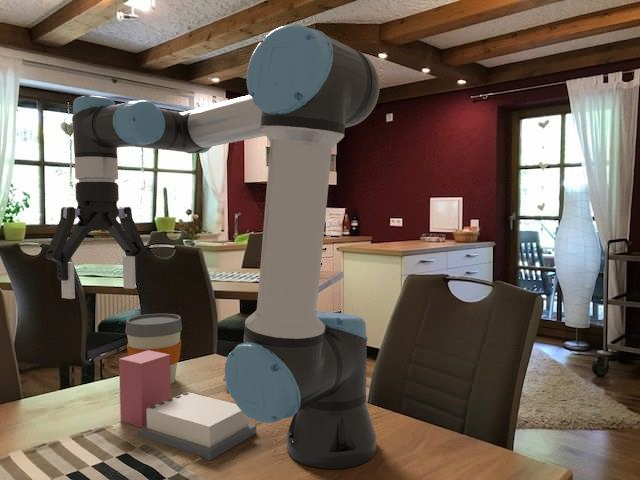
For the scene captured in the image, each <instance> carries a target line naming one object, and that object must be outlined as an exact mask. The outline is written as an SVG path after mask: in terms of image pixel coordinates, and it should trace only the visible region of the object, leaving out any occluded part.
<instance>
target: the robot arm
mask: <svg viewBox="0 0 640 480" xmlns="http://www.w3.org/2000/svg"><path fill="white" fill-rule="evenodd" d="M376 69H377V68H376V67H375V65H374V63H373V62H372V61H371V60H370V59H369V58H368V56H367V55H365V54H364V53H363V52H361V51H359V50H358V49H356V48H355V47H354V48H353V47H351V46H348V45H346V44H344V43H342V42H340V41H339V40H336V39H334V38H332V37H330V36H328V35H326V34H325V33H324V32H323V31H320V30H318V29H316V28H309V27H307V26H305V25H300V24H286V25H282V26H279V27H278V28H275V29H274V30H272V31H270V32H269V33H268V34H266V36H265V38H264V39H263V41H260V42H259V43H258V44H257V46H256V47H255V49H254V50H253V52H252V54H251V57H250V60H249V63H248V65H247V71H246V88H247V92H248V95H245V96H240V97H236V98H232V99H230V100H229V99H228V100H224V101H221V102H218V103H214V104H210V105H205V106H203V107H202V106H201V107H198V108H195V109H191V110H187V111H176V110H175V111H174V110H170V109H163V108H159V107H158V106H157V105H155V104H154V103H153V102H151V101H149V100H135V99H134V100H129V101H125V102H124V103H117V104H116V102H115V101H114V100H113V99H111V98H110V97H109V98H108V97H104V96H99V95H96V96H95V95H89V96H87V95H84V96H83V95H82V96H79V97H76V98H75V99H74V100H73V104H72V107H73V108H72V117H71V121H72V131H73V132H72V133H73V154H74V175H75V179H76V180H78V181H77V182H76V184H75V186H74V187H75V200H76V202H77V207H76V208H75V207H74V206H62V207H61V208H60V219H59V222H58V224H57V226H56V229H55V232H54V234H53V236H52V238H51V240H50V243H49V246H48V248H47V250H46V253H45V255H44V256H45V258H46V259H47V260H51V261H53V262H55V263H56V271H57V272H56V274H57V276H56V277H57V279H58V281H61V298H62V299H67V300H68V299H69V300H73V299H76V289H75V265H74V264H75V262H74V261H70V260H71V259H72V258H73V256H74V255H75V253H76V252H77V250H78V249H79V247H80V245H81V244H82V242H83V241H84V239H85V238H86V236H87V235H88V234H90V233H91V232H93V231H94V232H99V231H106V232H108V233H109V234H110V235H111V236H112V238H113V239H114V240H115V241H116V243H117V244H118V245H119V246H120V247H121V250H123V252H124V253H125V254H126V255H122V275H123V277H122V280H123V282H122V283H123V289H128V290H129V289H131V290H134V289H136V288H137V287H136V286H137V285H136V282H137V281H136V272H138V257H139V256H141V255H142V253H144V252H145V251H146V249H147V248H146V245H145V243H144V241H143V240H142V237H141V235H140V233H139V230H138V228H137V225H136V223H135V221H134V218H133V213H132V212H133V211H132V208H131V206H119V207H118V205H117V204H118V201H119V196H120V195H119V184H118V183H117V182H116V181H117V180H118V179H119V166H118V148H126V147H128V148H129V147H132V148H133V147H135V148H144V149H145V148H146V149H154V150H163V151H165V150H166V151H174V152H181V153H182V152H183V153H187V154H204V153H206V152H209V150H210V149H211V148H213V147H216V146H220V145H226V144H231V143H236V142H241V141H246V140H252V139H255V138H260V137H261V138H262V137H266V138H267V139H268V141H269V144H270V146H269V156H268V169H267V179H266V180H267V181H266V193H265V194H266V195H265V206H264V217H263V218H264V220H263V229H262V243H261V244H262V245H261V255H260V256H261V257H260V267H259V278H258V291H257V303H256V310H255V311H254V312H253V313H251V314H249V316H248V317H247V318H246V319H245V321H244V333H243V342H242V343H239V344H237V345H236V346H235V347H234V349H232V351H231V352H230V353H229V354H228V356H227V358H226V361H225V365H224V376H225V380H226V381H225V385H226V384H227V388H228V390H229V391H228V392H229V395H230V397H231V399H233V401H234V402H235V404H237V406H238V407H239V408H240V410H241V411H242V412H244V413H245V414H246V415H247V416H248V418H250V419H251V420H254V421H256V422H259V423H263V424H273V423H274V424H275V423H277V422H279V421H282V420H284V419H291V418H292V419H291V421H290V424H289V427H288V431H287V434H286V451H287V454H288V455H289V456H290V458H292V459H293V460H295V461H297V462H299V463H300V464H303V465H306V466H309V467H313V468H319V469H329V470H331V469H332V470H333V469H347V468H351V467H356V466H359V465H362V464H364V463H367V462H368V461H369V460H371V459H372V458H373V457H374V456H375V455H376V452H377V435H376V434H377V433H376V431H375V428H374V425H373V422H372V418H371V415H370V411H369V408H368V406H367V357H368V356H367V353H368V352H367V350H368V349H367V347H368V344H367V343H368V336H367V324H366V322H365V320H364V318H362V317H361V316H359V315H355V314H351V313H350V314H349V313H342V312H335V311H334V312H332V311H318V310H317V309H318V299H319V298H318V297H319V287H320V286H319V285H320V276H321V266H322V257H323V247H324V237H325V236H324V235H325V224H326V223H325V222H326V215H327V213H326V212H327V205H328V203H327V202H328V194H329V193H328V192H329V184H330V183H329V181H330V173H331V162H332V161H331V160H332V152H333V151H332V149H333V148H334V147H335V145H337V144H338V143H339V142H340V141H342V139H343V138H344V137H345V129H346V128H349V127H352V126H356V125H358V124H360V123H362V122H363V121H364V120H365V119H367V117H369V115H370V114H372V111H373V110H374V108H375V107H376V105H377V103H378V102H377V101H378V99H379V96H380V95H379V94H380V78H379V75H378V72H377V70H376ZM77 218H78V222H77V223H76V225H74V223H75V220H76V219H77ZM117 218H119V221H118V219H117ZM73 227H74V230H73V231H72V229H73ZM71 231H72V233H71Z"/></svg>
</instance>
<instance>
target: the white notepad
mask: <svg viewBox="0 0 640 480" xmlns="http://www.w3.org/2000/svg"><path fill="white" fill-rule="evenodd" d="M146 410H147V425H146V426H143V427H139V428H138V436H139V437H142V438H145V439H148V440H151V441H154V442H158V443H161V444H164V445H167V446H170V447H173V448H175V449H176V448H177V449H178V450H182V451H185V452H188V453H190V454H194V455H197V456H199V458H202V459H205V460H208V461H212V460H213V459H215V458H217V457H219V456H220V455H222V454H224V453H225V452H227V451H230V449H232V448H234V447H236V446H237V445H239V444H241V443H243V442H245V441H246V440H248V439H249V438H251V437H253V436H255V435H256V434H257V425H256V424H253V423H249V417H248V416H247V415H246V414H245V413H244V412H242V411H241V410H240V408H239V407H238V406H237V404H236V403H233V402H230V401H225V400H221V399H216V398H213V397H209V396H205V395H201V394H197V393H192V392H189V391H187V392H186V391H185V392H182V394H180V395H179V394H177V395H175V396H174V397H171V399H167V401H164V402H160V403H158V404H157V405H152V406H150V407H149V408H147V409H146Z"/></svg>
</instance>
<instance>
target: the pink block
mask: <svg viewBox="0 0 640 480" xmlns="http://www.w3.org/2000/svg"><path fill="white" fill-rule="evenodd" d="M118 362H119V365H118V366H119V367H118V368H119V369H118V370H119V372H118V373H119V404H120V406H119V410H120V422H123V423H125V424H128V425H130V426H131V425H132V426H136V427H139V428H141V427H143V426H146V425H147V410H146V409H147V408H149V407H150V406H152V405H157V404H158V403H160V402H164V401H167V399H172V395H171V394H172V393H171V385H172V384H171V383H170V354H165V353H160V352H155V351H150V350H148V351H144V352H141V353H137V354H134V355H131V356H128V355H127V356H124V357H121V358H118Z"/></svg>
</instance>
